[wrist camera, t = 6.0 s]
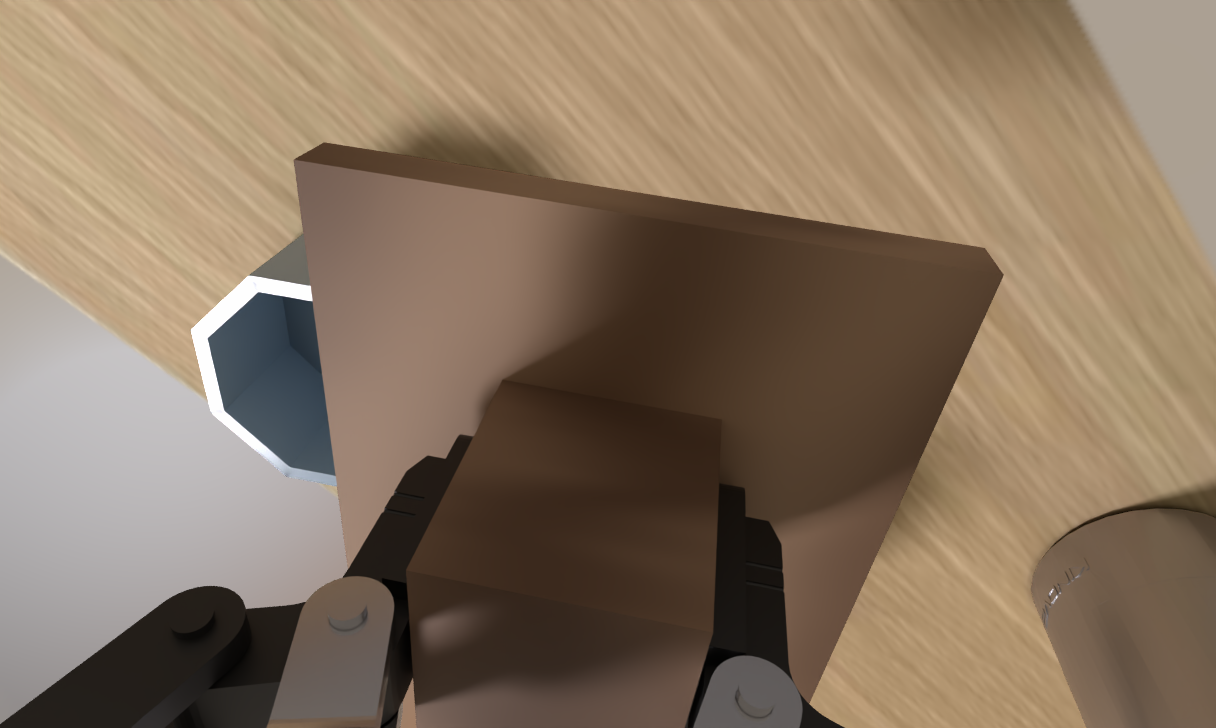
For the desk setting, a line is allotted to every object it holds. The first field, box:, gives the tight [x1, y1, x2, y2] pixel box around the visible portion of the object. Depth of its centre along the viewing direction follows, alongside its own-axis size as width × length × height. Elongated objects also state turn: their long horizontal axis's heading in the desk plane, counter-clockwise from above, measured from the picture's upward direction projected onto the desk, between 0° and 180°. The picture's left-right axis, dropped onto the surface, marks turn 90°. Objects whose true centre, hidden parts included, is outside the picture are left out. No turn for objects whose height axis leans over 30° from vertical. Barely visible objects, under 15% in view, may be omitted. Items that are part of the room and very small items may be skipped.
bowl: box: [191, 234, 337, 486], centre depth 31 cm, size 10×10×6 cm
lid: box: [294, 143, 1003, 728], centre depth 13 cm, size 11×11×6 cm
